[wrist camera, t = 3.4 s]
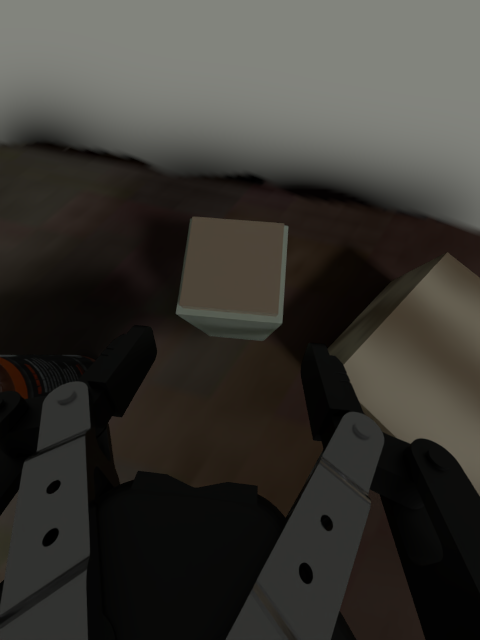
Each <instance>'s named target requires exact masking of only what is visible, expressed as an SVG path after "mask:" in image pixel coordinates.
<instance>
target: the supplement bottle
mask: <svg viewBox="0 0 480 640" xmlns="http://www.w3.org/2000/svg"><path fill="white" fill-rule="evenodd" d="M94 361H95V360H94V359H92V358H90V357H86V356H79V355H0V392H4V391H16V392H18V393H19V394H20V395H21V396H22V397H23V398H24V399H28V398H34V397H41V396H47V395H48V394H49V393H51V392H52V391H53V390H54V389H56V388H57V387H59V386H61V385H63V384H66V383H69V382H76V381H77V380H78V379H79V378H80V377H81V376H82V375H83V374H84V372H85V371H86V370H87V369H88V368H89V367H90V366H91V365H92V364H93V362H94Z"/></svg>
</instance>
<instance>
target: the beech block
mask: <svg viewBox="0 0 480 640" xmlns="http://www.w3.org/2000/svg"><path fill="white" fill-rule="evenodd" d="M328 352H329V355H333V356H336V357H337V358H338V359H339V360H340V361H341V362H342V363H343V365H344V367H345V370H346V372H347V375H348V377H349V379H350V383H351V384H352V386H353V389H354V391H355V393H356V396H357V398H358V400H359V403H360V405H361V407H362V410H363V412H364V414H365V415H366V416H368V417H369V418H371V419H372V420H373V421H374V422H375V423H376V424H377V425H378V426H379V427H380V429H381V431H382V432H384V433H386V434H388V435H390V436H393V437H395V438H398V439H400V440H403V441H405V442H408V443H410V444H411V443H412V442H413V441H414V440H416V439H419V438H423V439H428V440H431V441H433V442H435V443H437V444H439V445H441V446H442V447H444V448H445V449H446V450H447V451H449V452H450V453H451V454H452V455H453V456H454V457H455V459H456V460H457V461H458V463H459V464H460V466H461V467H462V469H463V470H464V472H465V474H466V475H467V477H468V478H469V480H470V481H471V483H472V485H473V486H474V488H475V489H476V491H477V493H478V494H479V496H480V278H479V277H478V276H477V275H475V274H474V273H473V272H472V271H470V270H469V269H468V268H466V267H465V266H464V265H463V264H461V263H460V262H459V261H458V260H456V259H455V258H454V257H452V256H451V255H450V254H449V253H445V254H443V255H441V256H439V257H437V258H436V259H434V260H432V261H430V262H428V263H426V264H424V265H422V266H420V267H418V268H416V269H414V270H412V271H410V272H409V273H407V274H405V275H403V276H401V277H399V278H397V279H395V280H393V281H391V282H390V283H389V284H388V285H387V286H386V287H385V289H384V290H383V291H382V292H381V293H380V294H379V295H378V296H377V297H376V298H375V299H374V300H373V301H372V302H371V303H370V304H369V305H368V306H367V308H366V309H365V310H364V311H363V312H362V313H361V314H360V315H359V316H358V317H357V318H356V319H355V320H354V321H353V322H352V323H351V324H350V325H349V327H348V328H347V329H346V330H345V331H344V332H343V333H342V334H341V335H340V336H339V337H338V338H337V339H336V340H335V341H334V342H333V343H332V344H331V346H330V347H329V348H328Z"/></svg>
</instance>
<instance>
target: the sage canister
mask: <svg viewBox="0 0 480 640" xmlns="http://www.w3.org/2000/svg"><path fill="white" fill-rule="evenodd" d="M287 239H288V226H284V223H271V222H257V221H244V220H231V219H217V218H204V217H192V219H190V224H189V230H188V237H187V243H186V250H185V257H184V263H183V270H182V276H181V283H180V290H179V296H178V303H177V309H176V314H177V315H178V316H180V317H181V318H183V319H184V320H186V321H188V322H189V323H191V324H192V325H194V326H195V327H197V328H198V329H200V330H201V331H203V332H205V333H206V334H208V335H209V336H217V337H228V338H238V339H249V340H259V341H263V340H265V339H266V338H267V337H268V336H269V335H270V334H271V333H272V332H273V331H275V330H276V329H277V328H278V327H279V326H280V325H281V324H282V319H283V303H284V287H285V271H286V255H287Z"/></svg>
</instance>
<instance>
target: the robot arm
mask: <svg viewBox="0 0 480 640" xmlns="http://www.w3.org/2000/svg"><path fill="white" fill-rule="evenodd" d="M156 354H157V348H156V344H155V339H154V335H153V330H152V328H151V327H149V326H139V325H135V326H133V327H132V328H131V329H130V331H129V332H128V333H127V334H122V335H121V336H119V337H118V338H116V339H114V340H113V341H112V342H111V343H110V344H109V346H108V347H107V349H105V350H104V351H103V352H102V353H101V356H99V357H98V358H97V359H96V360H95V361H94V362H93V364H92V365H91V366H90V367H89V368H88V369H87V370H86V371H85V372H84V374H83V375H82V376H81V377H80V378H79V379H78V380H77V381H76V382H69V383H66V384H63V385H61V386H59V387H57V388H56V389H54V390H53V391H52V392H51V393H49V394H48V395H47V396H41V397H34V398H28V399H24V398H23V397H22V396H21V395H20V394H19V393H18V392H16V391H4V392H0V515H1V514H2V512H3V511H4V510H5V508H6V507H7V506H8V504H9V503H10V501H11V500H12V499H13V497H14V496H15V494H16V493H17V492H18V490H19V494H18V500H17V506H16V512H15V518H14V524H13V530H12V536H11V542H10V549H9V555H8V561H7V567H6V573H5V579H4V580H3V581H2V582H1V583H0V640H356V638H355V637H354V635H353V633H352V631H351V630H350V628H349V626H348V624H347V623H346V621H345V619H344V617H343V616H342V614H341V612H340V611H339V610H340V607H341V604H342V600H343V597H344V594H345V590H346V587H347V583H348V580H349V577H350V573H351V570H352V567H353V563H354V560H355V557H356V553H357V550H358V547H359V543H360V540H361V537H362V533H363V530H364V527H365V523H366V520H367V517H368V513H369V510H370V504H371V500H370V498H369V497H368V492H369V489H370V490H372V491H374V492H376V493H378V494H380V497H381V500H382V504H383V507H384V510H385V513H386V516H387V519H388V522H389V526H390V529H391V532H392V535H393V538H394V541H395V545H396V548H397V551H398V554H399V557H400V560H401V563H402V567H403V570H404V573H405V576H406V579H407V582H408V585H409V589H410V592H411V595H412V598H413V601H414V604H415V608H416V611H417V614H418V617H419V620H420V623H421V626H422V630H423V633H424V636H425V639H426V640H480V496H479V494H478V493H477V491H476V489H475V488H474V486H473V485H472V483H471V481H470V480H469V478H468V477H467V475H466V474H465V472H464V470H463V469H462V467H461V466H460V464H459V463H458V461H457V460H456V459H455V457H454V456H453V455H452V454H451V453H450V452H449V451H447V450H446V449H445V448H444V447H442V446H441V445H439V444H437V443H435V442H433V441H431V440H428V439H423V438H419V439H416V440H414V441H413V442H412V443H411V444H410V443H408V442H405V441H403V440H400V439H398V438H395V437H393V436H390V435H388V434H386V433H384V432H382V431H381V429H380V427H379V426H378V425H377V424H376V423H375V422H374V421H373V420H372V419H371V418H369V417H368V416H366V415H365V414H364V412H363V410H362V407H361V405H360V403H359V400H358V398H357V396H356V393H355V391H354V389H353V386H352V384H351V383H350V379H349V377H348V375H347V372H346V370H345V367H344V365H343V363H342V362H341V361H340V360H339V359H338V358H337V357H336V356H333V355H329V352H328V349H327V347H326V345H325V344H317V343H309V344H308V346H307V349H306V352H305V355H304V358H303V361H302V365H301V379H302V384H303V389H304V394H305V400H306V405H307V410H308V415H309V420H310V426H311V431H312V436H313V440H315V441H322V444H323V451H322V453H321V455H320V457H319V458H318V460H317V462H316V464H315V466H314V468H313V469H312V471H311V473H310V475H309V477H308V479H307V480H306V482H305V484H304V486H303V488H302V490H301V491H300V493H299V495H298V497H297V498H296V500H295V502H294V504H293V505H292V507H291V509H290V511H289V513H288V515H287V516H286V518H285V517H284V515H283V514H282V513H281V512H280V511H279V510H278V509H277V507H275V506H274V505H273V504H272V503H271V502H270V501H268V500H267V499H265V498H264V497H262V496H260V495H258V494H257V486H255V485H247V484H239V483H231V482H226V483H220V484H215V485H210V486H205V487H199V488H194V487H191V486H189V485H187V484H185V483H183V482H181V481H179V480H177V479H175V478H173V477H171V476H169V475H167V474H159V473H151V472H143V471H138V472H137V474H136V477H135V479H134V480H132V481H128V482H125V483H123V484H120V482H119V478H118V474H117V472H116V469H115V465H114V458H113V451H112V444H111V436H110V429H109V424H108V422H109V420H110V419H111V417H112V416H116V417H122V416H123V415H124V413H125V411H126V409H127V408H128V406H129V404H130V402H131V401H132V399H133V397H134V395H135V394H136V392H137V390H138V389H139V387H140V385H141V383H142V382H143V380H144V378H145V376H146V375H147V373H148V371H149V369H150V368H151V366H152V364H153V362H154V361H155V358H156Z"/></svg>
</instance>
